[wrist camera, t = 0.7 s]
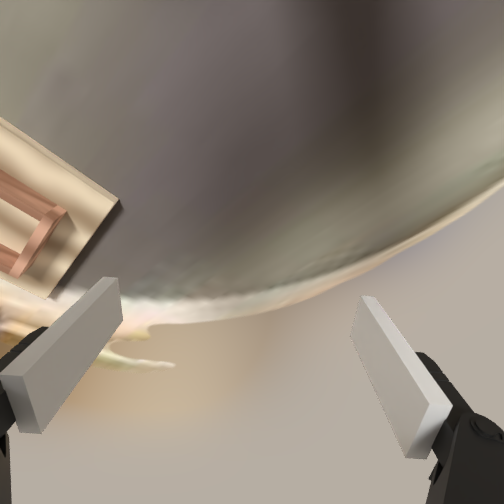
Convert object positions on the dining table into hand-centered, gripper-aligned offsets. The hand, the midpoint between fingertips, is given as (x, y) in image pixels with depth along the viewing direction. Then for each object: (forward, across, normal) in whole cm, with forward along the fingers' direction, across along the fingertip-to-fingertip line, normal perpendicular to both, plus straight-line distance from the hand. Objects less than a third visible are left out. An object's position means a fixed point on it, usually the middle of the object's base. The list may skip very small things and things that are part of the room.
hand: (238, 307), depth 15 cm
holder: (+24, -32, -3) cm, 40 cm away
